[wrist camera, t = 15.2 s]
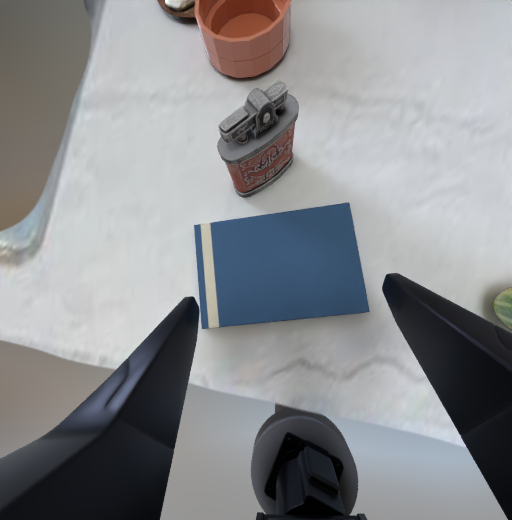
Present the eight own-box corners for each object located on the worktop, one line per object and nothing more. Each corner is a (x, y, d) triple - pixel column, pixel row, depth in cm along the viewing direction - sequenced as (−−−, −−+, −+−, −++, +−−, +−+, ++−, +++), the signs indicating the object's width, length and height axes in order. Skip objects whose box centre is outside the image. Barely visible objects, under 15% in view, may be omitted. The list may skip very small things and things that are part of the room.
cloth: (367, 311, 22) (370, 312, 21) (203, 327, 23) (201, 329, 23) (347, 204, 24) (349, 202, 23) (195, 226, 25) (193, 224, 25)
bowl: (269, 90, 27) (267, 51, 22) (194, 69, 28) (179, 28, 24) (301, 20, 27) (306, -32, 23) (227, 3, 29) (218, -48, 25)
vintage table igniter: (281, 143, 25) (284, 53, 16) (298, 163, 25) (312, 82, 15) (229, 183, 25) (198, 117, 16) (245, 203, 25) (223, 149, 15)
